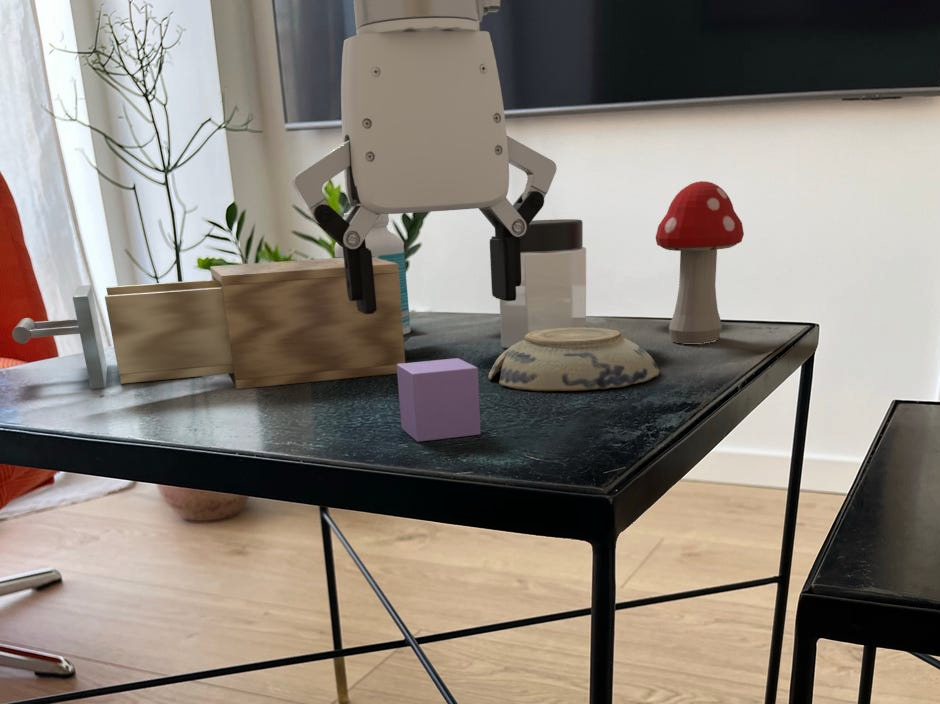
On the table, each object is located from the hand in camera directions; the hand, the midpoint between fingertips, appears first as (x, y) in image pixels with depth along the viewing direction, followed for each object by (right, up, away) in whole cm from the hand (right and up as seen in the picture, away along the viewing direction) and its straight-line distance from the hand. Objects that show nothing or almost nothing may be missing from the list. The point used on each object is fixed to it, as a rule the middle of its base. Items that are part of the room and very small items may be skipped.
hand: (436, 305), depth 68 cm
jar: (+10, +8, +37) cm, 39 cm away
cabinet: (-13, +4, +30) cm, 33 cm away
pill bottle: (-8, +10, +44) cm, 46 cm away
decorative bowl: (+11, +1, +21) cm, 24 cm away
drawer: (-28, +2, +25) cm, 38 cm away
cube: (0, -8, +4) cm, 9 cm away
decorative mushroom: (+25, +8, +37) cm, 45 cm away
